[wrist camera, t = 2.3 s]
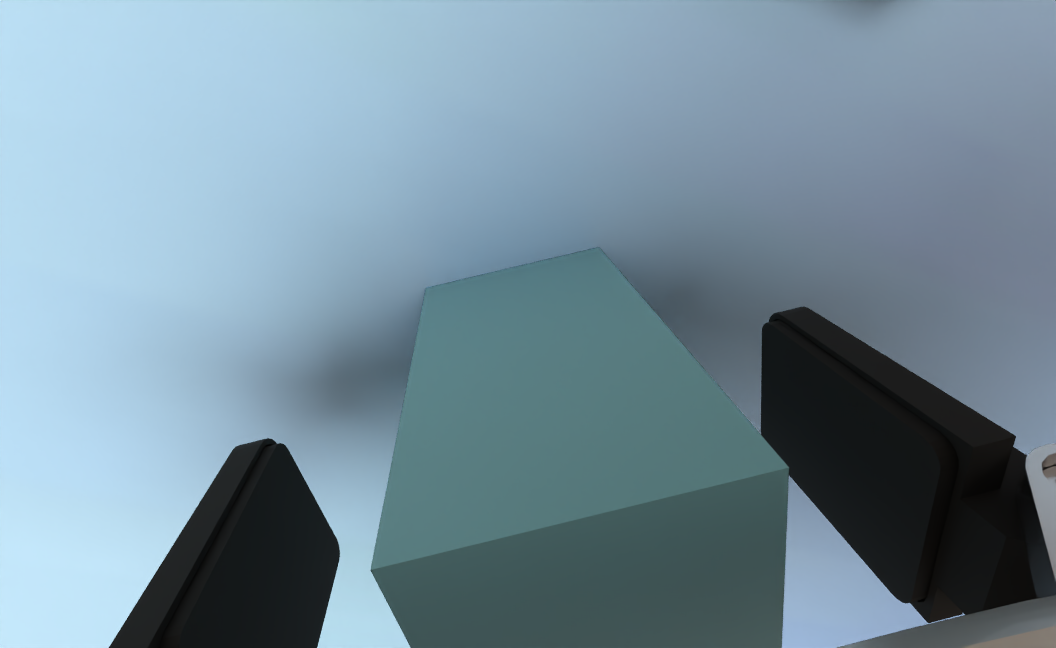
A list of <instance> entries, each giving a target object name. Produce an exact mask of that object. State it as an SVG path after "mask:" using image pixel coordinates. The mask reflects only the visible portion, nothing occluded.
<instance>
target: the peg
mask: <svg viewBox="0 0 1056 648" xmlns="http://www.w3.org/2000/svg"><path fill="white" fill-rule="evenodd" d="M788 479H789V467H788V466H787V465H786V463H785V462H784V461H783V460H782V459H781V458H780V457H779V455H778V454H777V453H776V452H775V451H774V450H773V448H772V447H771V446H770V445H769V444H768V443H767V441H766V440H765V439H764V438H763V437H762V436H761V434H760V433H759V432H758V431H757V430H756V429H755V428H754V426H753V425H752V424H751V423H750V422H749V421H748V419H747V418H746V417H745V416H744V415H743V414H742V412H741V411H740V410H739V409H738V408H737V407H736V406H735V404H734V403H733V402H732V401H731V400H730V399H729V397H728V396H727V395H726V394H725V393H724V392H723V390H722V389H721V388H720V387H719V386H718V385H717V383H716V382H715V381H714V380H713V379H712V378H711V377H710V375H709V374H708V373H707V372H706V371H705V370H704V368H703V367H702V366H701V365H700V364H699V363H698V361H697V360H696V359H695V358H694V357H693V356H692V355H691V353H690V352H689V351H688V350H687V349H686V348H685V346H684V345H683V344H682V343H681V342H680V341H679V339H678V338H677V337H676V336H675V335H674V334H673V332H672V331H671V330H670V329H669V328H668V327H667V326H666V324H665V323H664V322H663V321H662V320H661V319H660V317H659V316H658V315H657V314H656V313H655V312H654V310H653V309H652V308H651V307H650V306H649V305H648V304H647V302H646V301H645V300H644V299H643V298H642V297H641V295H640V294H639V293H638V292H637V291H636V290H635V288H634V287H633V286H632V285H631V284H630V283H629V281H628V280H627V279H626V278H625V277H624V276H623V275H622V273H621V272H620V271H619V270H618V269H617V268H616V266H615V265H614V264H613V263H612V262H611V261H610V259H609V258H608V257H607V256H606V255H605V254H604V253H603V251H602V250H601V249H600V248H599V247H597V248H593V249H589V250H584V251H580V252H576V253H572V254H568V255H563V256H559V257H555V258H551V259H546V260H542V261H538V262H534V263H529V264H525V265H521V266H517V267H512V268H508V269H504V270H500V271H495V272H491V273H487V274H483V275H479V276H474V277H470V278H466V279H462V280H457V281H453V282H449V283H445V284H440V285H436V286H432V287H428V288H426V290H425V295H424V300H423V305H422V311H421V316H420V321H419V326H418V331H417V336H416V341H415V346H414V351H413V356H412V361H411V367H410V372H409V377H408V382H407V387H406V392H405V397H404V402H403V407H402V412H401V417H400V423H399V428H398V433H397V438H396V443H395V448H394V453H393V458H392V463H391V468H390V473H389V478H388V484H387V489H386V494H385V499H384V504H383V509H382V514H381V519H380V524H379V529H378V534H377V540H376V545H375V550H374V555H373V560H372V565H371V572H372V574H373V576H374V578H375V580H376V582H377V583H378V585H379V587H380V589H381V591H382V593H383V595H384V597H385V599H386V601H387V603H388V605H389V607H390V609H391V610H392V612H393V614H394V616H395V618H396V620H397V622H398V624H399V626H400V628H401V630H402V632H403V634H404V635H405V637H406V639H407V641H408V643H409V645H410V647H411V648H782V627H783V603H784V578H785V553H786V529H787V504H788Z"/></svg>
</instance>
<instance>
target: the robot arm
mask: <svg viewBox="0 0 1056 648" xmlns="http://www.w3.org/2000/svg"><path fill="white" fill-rule="evenodd" d="M761 436H762V437H763V438H764V439H765V440H766V441H767V443H768V444H769V445H770V446H771V447H772V448H773V450H774V451H775V452H776V453H777V454H778V455H779V457H780V458H781V459H782V460H783V461H784V462H785V463H786V465H787V466H788V467H789V475H790V477H791V478H792V479H793V480H794V481H795V482H796V483H797V485H798V486H799V487H800V488H801V489H802V490H803V492H804V493H805V494H806V495H807V496H808V497H809V498H810V500H811V501H812V502H813V503H814V504H815V505H816V507H817V508H818V509H819V510H820V511H821V512H822V514H823V515H824V516H825V517H826V518H827V519H828V520H829V522H830V523H831V524H832V525H833V526H834V527H835V529H836V530H837V531H838V532H839V533H840V534H841V535H842V537H843V538H844V539H845V540H846V541H847V542H848V544H849V545H850V546H851V547H852V548H853V549H854V550H855V552H856V553H857V554H858V555H859V556H860V557H861V559H862V560H863V561H864V562H865V563H866V564H867V565H868V567H869V568H870V569H871V570H872V571H873V572H874V574H875V575H876V576H877V577H878V578H879V579H880V581H881V582H882V583H883V584H884V585H885V586H886V587H887V589H888V590H889V591H890V592H891V593H892V594H893V595H894V596H895V597H896V598H897V599H898V600H900V601H901V602H903V603H911V604H912V605H913V607H914V608H915V609H916V610H917V611H918V612H919V613H920V615H921V616H922V617H923V618H924V619H925V620H926V621H927V622H928V623H931V622H935V621H938V620H942V619H946V618H950V617H953V616H957V615H961V614H962V613H964V614H965V615H964V616H960V617H956V618H952V619H948V620H944V621H939V622H935V623H931V624H927V625H923V626H919V627H914V628H910V629H906V630H902V631H898V632H895V633H891V634H887V635H883V636H879V637H875V638H872V639H868V640H864V641H860V642H856V643H852V644H849V645H845V646H841V647H837V648H1056V443H1055V444H1047V445H1044V446H1041V447H1038V448H1035V449H1033V450H1032V451H1031V452H1030V454H1029V455H1028V456H1027V455H1025V454H1023V453H1022V452H1020V451H1019V450H1017V449H1016V448H1014V447H1013V445H1014V442H1015V438H1016V436H1015V435H1013V434H1011V433H1010V432H1008V431H1007V430H1005V429H1003V428H1002V427H1000V426H998V425H997V424H995V423H994V422H992V421H990V420H989V419H987V418H986V417H984V416H982V415H981V414H979V413H977V412H976V411H974V410H973V409H971V408H969V407H968V406H966V405H964V404H963V403H961V402H960V401H958V400H956V399H955V398H953V397H951V396H950V395H948V394H947V393H945V392H943V391H942V390H940V389H939V388H937V387H935V386H934V385H932V384H930V383H929V382H927V381H926V380H924V379H922V378H921V377H919V376H917V375H916V374H914V373H913V372H911V371H909V370H908V369H906V368H904V367H903V366H901V365H900V364H898V363H896V362H895V361H893V360H892V359H890V358H888V357H887V356H885V355H883V354H882V353H880V352H879V351H877V350H875V349H874V348H872V347H870V346H869V345H867V344H866V343H864V342H862V341H861V340H859V339H857V338H856V337H854V336H853V335H851V334H849V333H848V332H846V331H844V330H843V329H841V328H840V327H838V326H836V325H835V324H833V323H832V322H830V321H828V320H827V319H825V318H823V317H822V316H820V315H819V314H817V313H815V312H814V311H812V310H810V309H809V308H806V307H799V308H795V309H791V310H787V311H783V312H778V313H774V314H773V315H772V316H771V317H770V319H769V323H766V324H764V326H763V328H762V380H761ZM339 557H340V550H339V544H338V541H337V539H336V537H335V535H334V533H333V531H332V529H331V527H330V526H329V524H328V522H327V520H326V518H325V516H324V515H323V513H322V511H321V509H320V507H319V505H318V504H317V502H316V500H315V498H314V496H313V494H312V492H311V491H310V489H309V487H308V485H307V483H306V481H305V480H304V478H303V476H302V474H301V472H300V470H299V469H298V467H297V465H296V463H295V461H294V459H293V458H292V456H291V454H290V452H289V450H288V449H287V447H286V446H285V445H284V444H281V443H279V444H277V443H276V442H275V441H274V440H272V439H269V438H267V439H263V440H259V441H255V442H251V443H247V444H243V445H239V446H237V447H235V448H234V449H233V450H232V452H231V454H230V455H229V457H228V458H227V460H226V462H225V463H224V465H223V466H222V468H221V470H220V471H219V473H218V474H217V476H216V478H215V479H214V481H213V482H212V484H211V486H210V487H209V489H208V490H207V492H206V493H205V495H204V497H203V498H202V500H201V501H200V503H199V505H198V506H197V508H196V509H195V511H194V513H193V514H192V516H191V517H190V519H189V521H188V522H187V524H186V525H185V527H184V529H183V530H182V532H181V533H180V535H179V537H178V538H177V540H176V541H175V543H174V545H173V546H172V548H171V549H170V551H169V553H168V554H167V556H166V557H165V559H164V561H163V562H162V564H161V565H160V567H159V569H158V570H157V572H156V573H155V575H154V576H153V578H152V580H151V581H150V583H149V584H148V586H147V588H146V589H145V591H144V592H143V594H142V596H141V597H140V599H139V600H138V602H137V604H136V605H135V607H134V608H133V610H132V612H131V613H130V615H129V616H128V618H127V620H126V621H125V623H124V624H123V626H122V628H121V629H120V631H119V632H118V634H117V636H116V637H115V639H114V640H113V642H112V644H111V645H110V647H109V648H317V646H318V642H319V638H320V634H321V630H322V626H323V622H324V618H325V614H326V610H327V606H328V602H329V598H330V594H331V590H332V587H333V583H334V579H335V575H336V571H337V567H338V563H339Z"/></svg>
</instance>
